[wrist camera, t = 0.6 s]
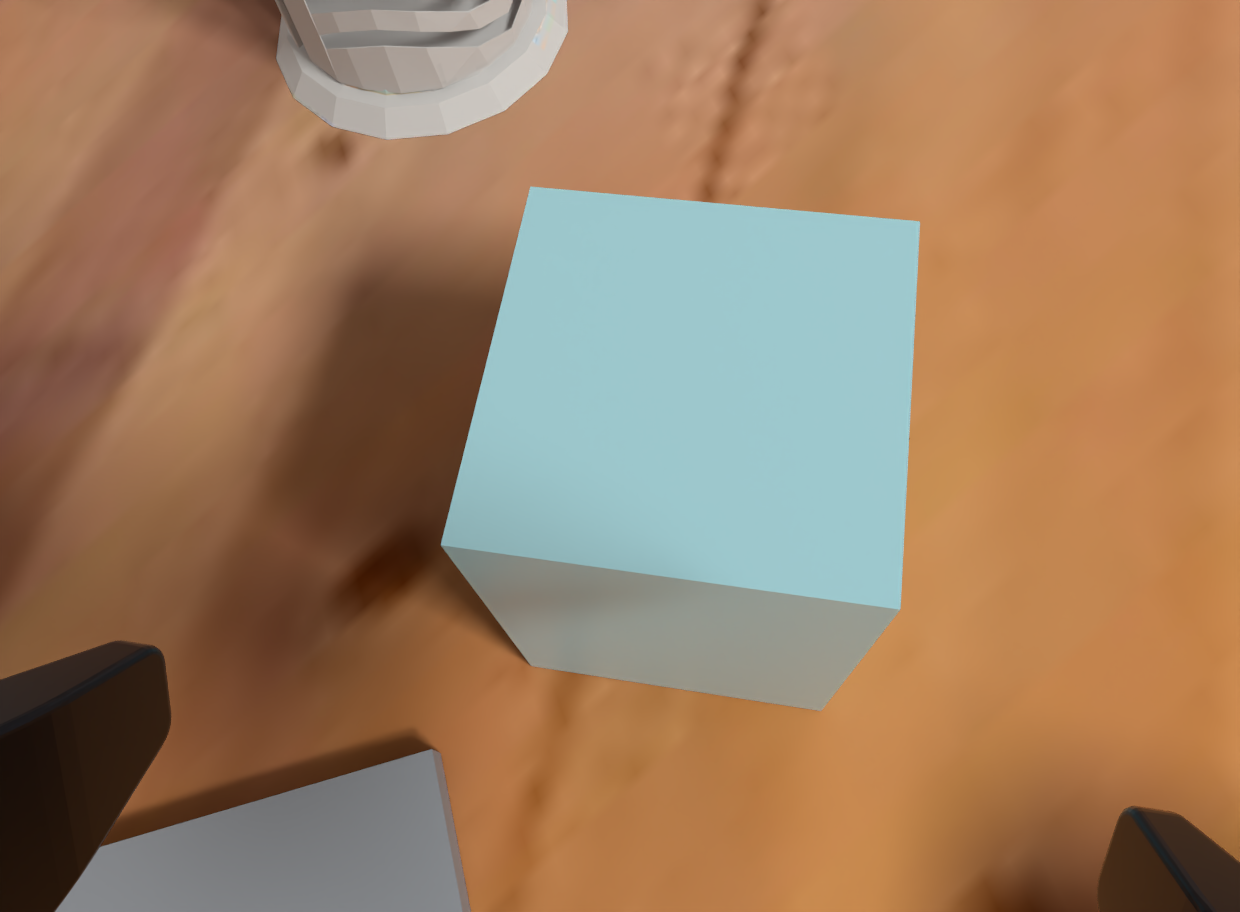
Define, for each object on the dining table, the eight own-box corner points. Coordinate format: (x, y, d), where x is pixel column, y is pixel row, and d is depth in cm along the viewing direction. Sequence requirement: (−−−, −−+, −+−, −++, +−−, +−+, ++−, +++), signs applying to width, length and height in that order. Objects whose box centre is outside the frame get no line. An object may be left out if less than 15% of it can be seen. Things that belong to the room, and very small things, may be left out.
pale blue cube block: (821, 711, 22) (900, 609, 14) (531, 665, 23) (440, 545, 14) (842, 442, 24) (920, 221, 16) (582, 411, 25) (530, 186, 17)
